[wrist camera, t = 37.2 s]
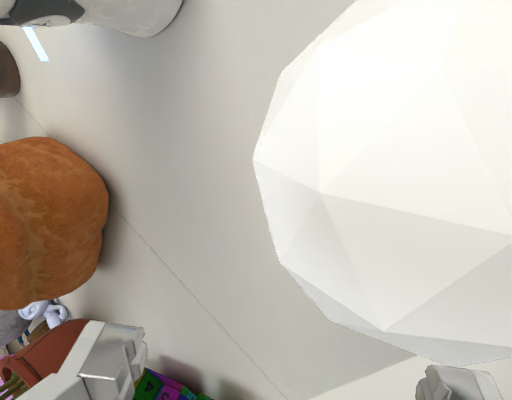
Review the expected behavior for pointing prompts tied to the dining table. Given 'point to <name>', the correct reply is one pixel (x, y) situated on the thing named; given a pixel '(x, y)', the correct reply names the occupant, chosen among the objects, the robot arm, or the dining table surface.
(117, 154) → the dining table surface
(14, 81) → the walnut plinth
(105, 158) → the dining table surface
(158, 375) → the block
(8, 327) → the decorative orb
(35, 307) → the toy figurine
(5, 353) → the candle holder
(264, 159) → the geometric sculpture
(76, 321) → the potted plant
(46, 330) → the utensil holder
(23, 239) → the bread
